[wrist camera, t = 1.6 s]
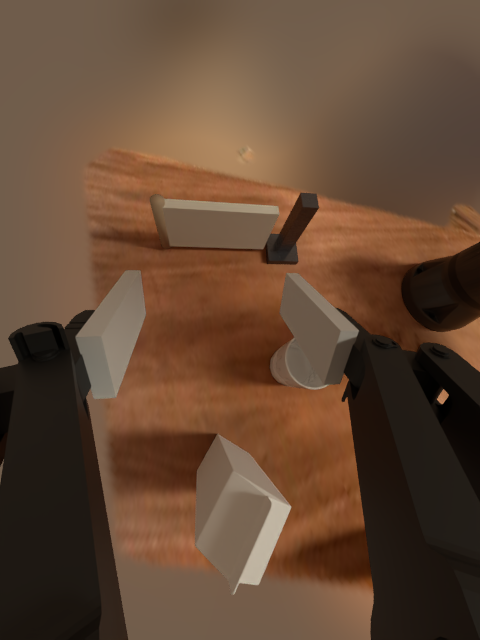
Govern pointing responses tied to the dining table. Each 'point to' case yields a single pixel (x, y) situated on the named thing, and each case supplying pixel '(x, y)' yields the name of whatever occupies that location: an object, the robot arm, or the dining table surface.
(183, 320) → the dining table surface
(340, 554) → the dining table surface
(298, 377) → the white cup
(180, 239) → the gate panel
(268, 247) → the gate post
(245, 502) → the milk
